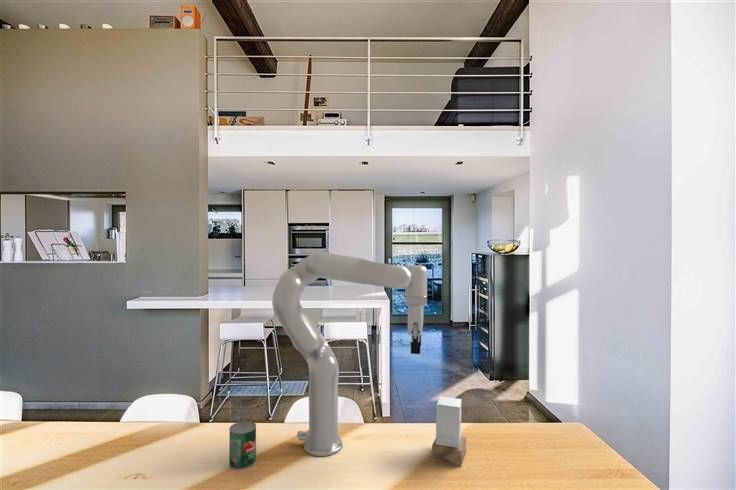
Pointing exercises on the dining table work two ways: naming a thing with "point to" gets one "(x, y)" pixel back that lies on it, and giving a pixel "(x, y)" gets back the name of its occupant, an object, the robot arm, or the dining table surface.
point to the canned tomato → (242, 445)
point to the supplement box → (448, 422)
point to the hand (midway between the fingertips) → (416, 349)
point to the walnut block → (449, 453)
